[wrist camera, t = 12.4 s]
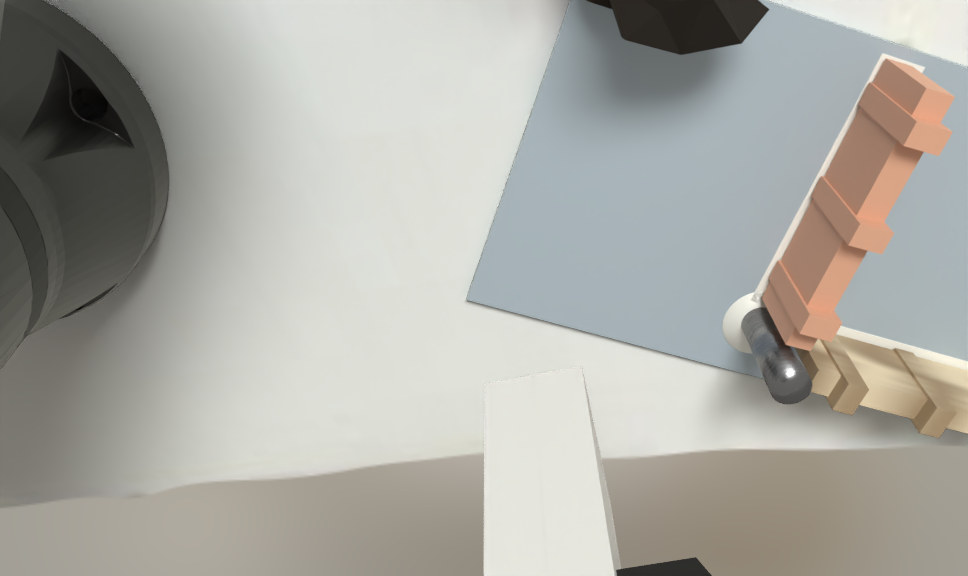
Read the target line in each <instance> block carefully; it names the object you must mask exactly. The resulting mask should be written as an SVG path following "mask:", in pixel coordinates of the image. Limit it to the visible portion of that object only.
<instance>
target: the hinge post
mask: <svg viewBox="0 0 968 576" xmlns="http://www.w3.org/2000/svg"><path fill="white" fill-rule="evenodd" d="M741 328H742V331H743V333H744V335H745V337H746V340H747V342H748V344H749V346H750V349H751V351H752V353H753V355H754V357H755V360H756V362H757V364H758V366H759V368H760V371H761V373H762V375H763V377H764V380H765V382H766V384H767V386H768V388H769V391H770V393H771V395H772V397H773V398H774V399H775V400H776V401H777V402H779V403H782V404H794V403H798V402H800V401H802V400H803V399H805V398H806V397H807V396H808V395H809V394H810V392H811V390H812V380H811V378H810V376H809V374H808V372H807V370H806V369H805V367H804V365H803V363H802V361H801V359H800V357H799V355H798V353H797V351H796V350H795V348H794V347H792V346H788V345H786V344H785V342H784V340H783V338H782V337H781V335H780V333H779V331H778V329H777V327H776V325H775V323H774V321H773V319H772V317H771V315H770V313H769V311H768V309H767V308H765V307H760V308H756V309H753V310H751V311H749V312H748V313H747V314H746V315H745V316H744V318H743V320H742V322H741Z"/></svg>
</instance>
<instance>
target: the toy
mask: <svg viewBox="0 0 968 576" xmlns="http://www.w3.org/2000/svg"><path fill="white" fill-rule="evenodd" d="M586 1H588V2H591V3H594V4H597V5H600V6H603V7H606V8H609V9H612V10H613V13H614V16H615V19H616V22H617V25H618V28H619V31H620V35H621V37H622V38H623V39H624V40H626V41H630V42H634V43H638V44H641V45H645V46H649V47H653V48H656V49H660V50H664V51H668V52H671V53H675V54H679V55H684V54H689V53H695V52H700V51H705V50H711V49H716V48H721V47H727V46H732V45H737V44H742V43H743V41H744V40H745V39H746V38H747V37H748V35H749V34H750V33H751V32H752V30H753V29H754V28H755V27H756V25H757V24H758V23H759V22H760V20H761V19H762V18H763V17H764V16H765V14H766V13H767V12H768V11H769V9H768V8H767V7H766V6H765V5H763V4H762V3H761V2H760V1H759V0H586Z"/></svg>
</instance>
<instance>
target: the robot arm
mask: <svg viewBox="0 0 968 576" xmlns="http://www.w3.org/2000/svg"><path fill="white" fill-rule="evenodd" d="M167 196H168V164H167V158H166V152H165V147H164V143H163V139H162V136H161V133H160V129H159V127H158V124H157V122H156V119H155V116H154V114H153V112H152V110H151V108H150V106H149V104H148V102H147V100H146V98H145V97H144V95H143V93H142V91H141V90H140V88H139V87H138V85H137V84H136V82H135V80H134V79H133V78H132V76H131V75H130V74H129V72H128V71H127V70H126V68H125V67H124V66H123V65H122V63H121V62H120V61H119V60H118V59H117V58H116V56H115V55H114V54H113V53H112V52H111V51H110V50H109V49H108V48H107V47H106V46H105V45H104V44H103V43H102V42H101V41H100V40H99V39H98V38H96V37H95V36H94V35H93V34H92V33H91V32H89V31H88V30H87V29H86V28H85V27H83V26H82V25H81V24H79V23H78V22H77V21H75V20H74V19H73V18H71V17H70V16H68V15H67V14H65V13H63V12H62V11H60V10H59V9H57V8H55V7H54V6H52V5H50V4H48V3H47V2H45V1H43V0H0V369H1V368H2V367H3V366H4V364H5V363H6V362H7V360H8V359H9V358H10V357H11V355H12V354H13V353H14V351H15V350H16V348H17V347H18V346H19V345H20V343H21V342H22V341H23V340H24V339H25V337H26V336H27V335H29V334H31V333H33V332H35V331H37V330H38V329H40V328H42V327H44V326H46V325H48V324H50V323H52V322H54V321H55V320H57V319H60V318H63V317H67V316H70V315H72V314H74V313H76V312H79V311H81V310H83V309H85V308H87V307H89V306H91V305H93V304H95V303H96V302H98V301H100V300H101V299H103V298H104V297H105V296H107V295H108V294H109V293H111V292H112V291H113V290H114V289H115V288H116V287H118V286H119V285H120V284H121V283H122V282H123V281H124V280H125V279H126V278H127V277H128V275H129V274H130V273H131V272H132V270H133V269H134V268H135V266H136V265H137V264H138V262H139V261H140V259H141V258H142V256H143V255H144V254H145V252H146V251H147V249H148V248H149V246H150V245H151V243H152V242H153V240H154V238H155V236H156V234H157V232H158V230H159V227H160V225H161V222H162V219H163V216H164V212H165V208H166V203H167ZM484 576H711V574H710V573H709V572H708V571H707V570H706V569H705V567H704V566H703V565H702V564H701V563H700V562H699V560H698V559H697V558H689V559H682V560H677V561H670V562H664V563H657V564H651V565H644V566H638V567H632V568H625V569H621V564H620V558H619V552H618V546H617V540H616V534H615V528H614V522H613V516H612V511H611V505H610V498H609V494H608V489H607V484H606V479H605V475H604V470H603V465H602V460H601V456H600V451H599V446H598V441H597V437H596V432H595V427H594V422H593V418H592V413H591V408H590V403H589V399H588V394H587V389H586V385H585V380H584V375H583V370H582V366H577V367H571V368H566V369H560V370H555V371H549V372H544V373H538V374H533V375H527V376H522V377H517V378H511V379H506V380H500V381H495V382H489V383H484Z"/></svg>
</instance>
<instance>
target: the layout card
mask: <svg viewBox="0 0 968 576" xmlns="http://www.w3.org/2000/svg"><path fill="white" fill-rule="evenodd" d="M759 1H760V2H761V3H762V4H763V5H765V6H766V7H767V8H768V9H769V11H768V12H767V13H766V14H765V16H764V17H763V18H762V19H761V20H760V22H759V23H758V24H757V25H756V27H755V28H754V29H753V30H752V32H751V33H750V34H749V35H748V37H747V38H746V39H745V40H744V41H743V43H742V44H737V45H732V46H727V47H721V48H716V49H711V50H705V51H700V52H695V53H689V54H684V55H679V54H675V53H671V52H668V51H664V50H660V49H656V48H653V47H649V46H645V45H641V44H638V43H634V42H630V41H626V40H624V39H623V38H622V37H621V35H620V31H619V28H618V25H617V22H616V19H615V16H614V13H613V10H612V9H609V8H606V7H603V6H600V5H597V4H594V3H591V2H588V1H586V0H570V2H569V5H568V8H567V11H566V14H565V16H564V19H563V22H562V25H561V28H560V31H559V34H558V37H557V39H556V42H555V45H554V48H553V51H552V54H551V57H550V60H549V62H548V65H547V68H546V71H545V74H544V77H543V80H542V82H541V85H540V88H539V91H538V94H537V97H536V100H535V103H534V105H533V108H532V111H531V114H530V117H529V120H528V123H527V126H526V128H525V131H524V134H523V137H522V140H521V143H520V146H519V148H518V151H517V154H516V157H515V160H514V163H513V166H512V169H511V171H510V174H509V177H508V180H507V183H506V186H505V189H504V192H503V194H502V197H501V200H500V203H499V206H498V209H497V212H496V215H495V217H494V220H493V223H492V226H491V229H490V232H489V235H488V237H487V240H486V243H485V246H484V249H483V252H482V255H481V258H480V260H479V263H478V266H477V269H476V272H475V275H474V278H473V281H472V283H471V286H470V289H469V292H468V295H467V300H469V301H472V302H476V303H480V304H484V305H487V306H491V307H495V308H499V309H503V310H506V311H510V312H514V313H518V314H521V315H525V316H529V317H533V318H536V319H540V320H544V321H548V322H551V323H555V324H559V325H563V326H567V327H570V328H574V329H578V330H582V331H585V332H589V333H593V334H597V335H600V336H604V337H608V338H612V339H615V340H619V341H623V342H627V343H631V344H634V345H638V346H642V347H646V348H649V349H653V350H657V351H661V352H664V353H668V354H672V355H676V356H679V357H683V358H687V359H691V360H695V361H698V362H702V363H706V364H710V365H713V366H717V367H721V368H725V369H728V370H732V371H736V372H740V373H743V374H747V375H751V376H755V377H759V378H762V379H764V377H763V375H762V373H761V371H760V368H759V366H758V364H757V362H756V360H755V357H754V355H753V353H752V351H751V349H750V346H749V344H748V342H747V340H746V337H745V335H744V333H743V331H742V328H741V322H742V320H743V318H744V316H745V315H746V314H747V313H748V312H749V311H751V310H753V309H756V308H760V307H765V308H767V307H766V306H765V304H764V302H763V300H762V297H763V295H764V293H765V291H766V289H767V287H768V285H769V283H770V280H769V277H770V275H771V273H772V271H773V269H774V267H775V265H776V263H777V261H778V260H779V261H781V260H782V258H783V256H784V254H785V252H786V250H787V248H788V246H789V244H790V242H791V240H792V238H793V237H794V235H795V233H796V231H797V229H798V227H799V225H800V223H801V221H802V219H803V217H804V215H805V213H806V211H807V209H808V207H809V206H810V204H811V202H812V200H813V198H812V196H811V195H812V193H813V191H814V189H815V187H816V185H817V183H818V181H819V179H820V177H821V176H823V177H825V175H826V173H827V171H828V169H829V167H830V165H831V163H832V161H833V159H834V157H835V155H836V153H837V151H838V149H839V147H840V146H841V144H842V142H843V140H844V138H845V136H846V134H847V132H848V130H849V128H850V126H851V124H852V122H853V120H854V118H855V116H856V115H857V113H858V111H859V109H860V106H859V105H858V104H859V102H860V100H861V98H862V96H863V94H864V92H865V90H866V88H867V86H868V84H869V82H870V83H873V82H874V80H875V78H876V76H877V74H878V72H879V70H880V68H881V66H882V64H883V62H884V60H885V58H887V59H890V60H894V61H897V62H900V63H903V64H907V65H910V66H912V67H914V68H915V69H917V70H918V71H919V72H921V73H922V74H924V75H925V76H926V77H928V78H929V79H931V80H932V81H934V82H935V83H936V84H938V85H939V86H941V87H942V88H943V89H945V90H946V91H948V92H949V93H950V94H952V95H953V96H955V98H954V100H953V102H952V103H951V105H950V107H949V109H948V110H947V112H946V114H945V116H944V117H943V119H942V121H941V123H942V124H943V125H944V126H946V127H947V128H948V129H949V130H951V131H952V132H953V133H952V134H951V136H950V138H949V140H948V141H947V143H946V145H945V147H944V148H943V150H942V152H941V153H940V155H939V156H936V155H933V154H929V153H926V152H924V153H923V154H922V156H921V158H920V160H919V161H918V163H917V165H916V167H915V168H914V170H913V172H912V174H911V176H910V177H909V179H908V181H907V183H906V184H905V186H904V188H903V190H902V191H901V193H900V195H899V197H898V198H897V200H896V202H895V204H894V205H893V207H892V209H891V211H890V213H889V214H888V216H887V218H886V220H885V221H884V222H885V223H886V224H887V225H888V227H889V228H890V229H891V230H892V231H893V232H894V235H893V236H892V238H891V240H890V242H889V243H888V245H887V247H886V249H885V250H884V252H883V254H878V253H874V252H871V251H867V253H866V255H865V257H864V258H863V260H862V262H861V264H860V265H859V267H858V269H857V271H856V272H855V274H854V276H853V278H852V279H851V281H850V283H849V285H848V286H847V288H846V290H845V292H844V293H843V295H842V297H841V299H840V301H839V302H838V304H837V306H836V308H835V309H834V311H835V312H836V314H837V315H838V317H839V318H840V320H841V322H842V325H841V326H840V328H839V330H838V331H837V333H836V334H837V335H841V336H844V337H848V338H852V339H855V340H859V341H862V342H866V343H870V344H873V345H877V346H880V347H884V348H888V349H891V350H894V349H895V348H898V349H902V350H905V351H909V352H912V353H914V355H915V356H916V357H920V358H924V359H927V360H931V361H935V362H938V363H942V364H945V365H949V366H953V367H956V368H960V369H963V370H967V371H968V67H966V66H963V65H960V64H957V63H954V62H951V61H948V60H945V59H942V58H939V57H936V56H933V55H930V54H927V53H924V52H921V51H918V50H915V49H912V48H909V47H906V46H903V45H900V44H897V43H894V42H891V41H888V40H885V39H882V38H879V37H876V36H873V35H870V34H867V33H864V32H861V31H858V30H855V29H852V28H849V27H846V26H843V25H840V24H837V23H834V22H831V21H828V20H825V19H822V18H819V17H816V16H813V15H810V14H807V13H804V12H801V11H798V10H795V9H792V8H789V7H786V6H783V5H780V4H777V3H774V2H771V1H768V0H759Z"/></svg>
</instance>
